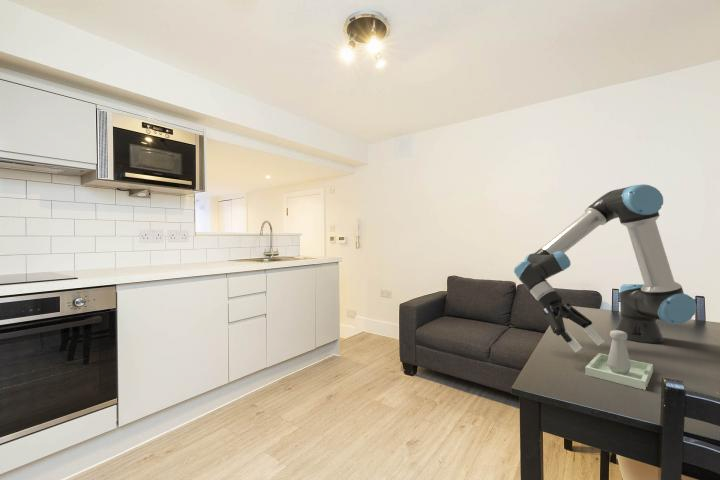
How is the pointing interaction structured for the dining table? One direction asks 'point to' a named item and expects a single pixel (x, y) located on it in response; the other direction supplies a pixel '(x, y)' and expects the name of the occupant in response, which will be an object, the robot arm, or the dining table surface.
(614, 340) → the salt shaker
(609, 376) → the tray
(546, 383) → the dining table surface
